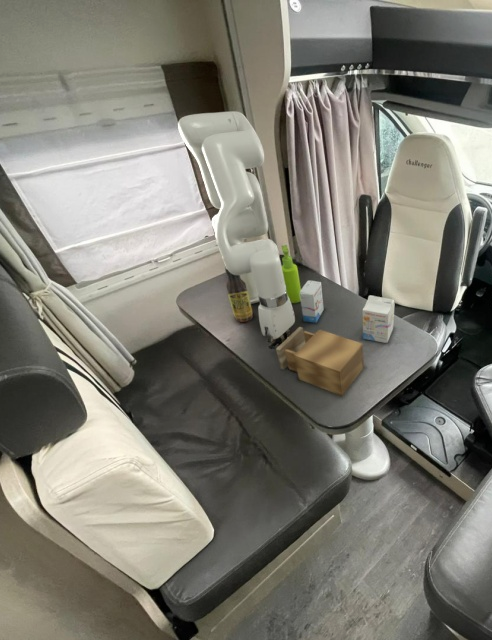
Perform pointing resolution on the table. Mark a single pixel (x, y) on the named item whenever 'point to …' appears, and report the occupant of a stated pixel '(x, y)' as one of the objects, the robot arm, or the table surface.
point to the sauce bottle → (239, 297)
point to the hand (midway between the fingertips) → (284, 348)
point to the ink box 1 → (311, 301)
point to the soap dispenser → (290, 276)
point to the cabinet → (329, 361)
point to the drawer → (291, 348)
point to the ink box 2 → (378, 319)
